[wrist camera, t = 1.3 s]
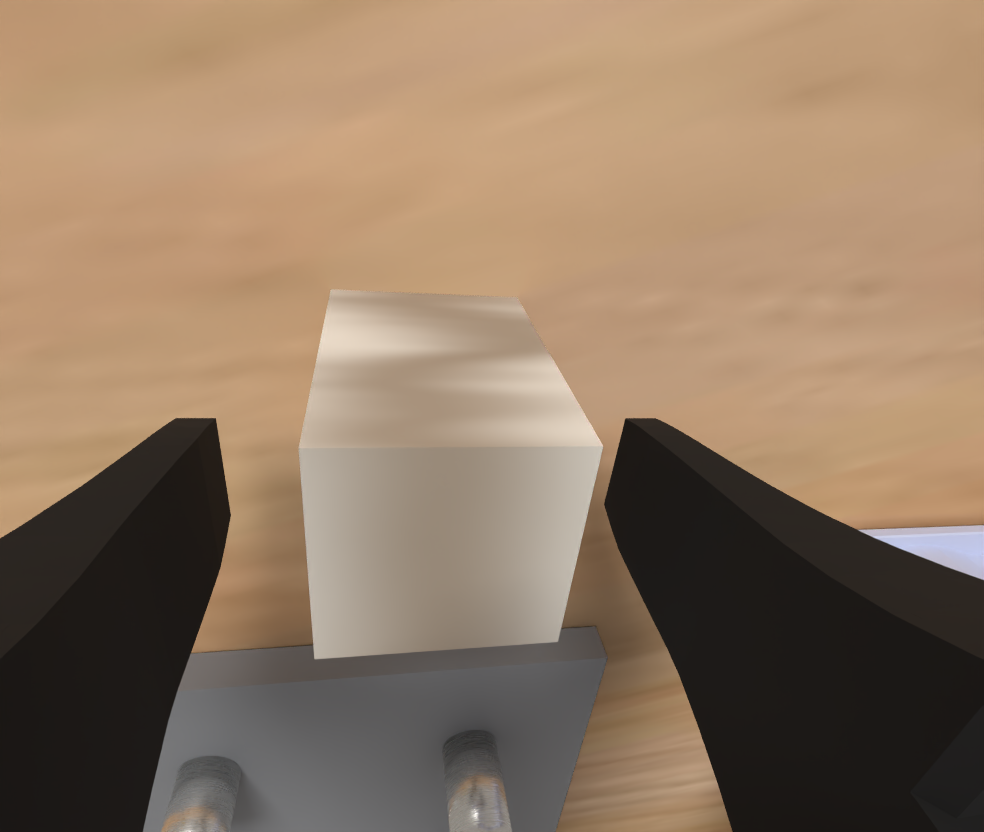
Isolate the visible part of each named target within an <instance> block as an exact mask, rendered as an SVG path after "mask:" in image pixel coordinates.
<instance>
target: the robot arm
mask: <svg viewBox="0 0 984 832" xmlns="http://www.w3.org/2000/svg"><path fill="white" fill-rule="evenodd" d="M604 505H605V508H606V512H607V515H608V518H609V522H610V525H611V528H612V531H613V534H614V537H615V540H616V543H617V546H618V549H619V551H620V553H621V555H622V558H623V560H624V562H625V564H626V566H627V568H628V570H629V572H630V574H631V576H632V578H633V580H634V582H635V585H636V587H637V589H638V591H639V593H640V595H641V597H642V599H643V601H644V603H645V605H646V607H647V609H648V611H649V613H650V615H651V617H652V619H653V621H654V623H655V625H656V627H657V629H658V631H659V633H660V635H661V637H662V639H663V641H664V643H665V645H666V647H667V649H668V651H669V653H670V655H671V658H672V660H673V662H674V664H675V667H676V669H677V671H678V673H679V676H680V678H681V681H682V684H683V687H684V689H685V692H686V695H687V697H688V700H689V703H690V705H691V708H692V711H693V713H694V716H695V719H696V722H697V724H698V727H699V730H700V733H701V736H702V739H703V742H704V744H705V747H706V750H707V753H708V756H709V759H710V762H711V765H712V768H713V771H714V774H715V777H716V780H717V783H718V786H719V789H720V792H721V795H722V799H723V802H724V805H725V808H726V812H727V815H728V818H729V821H730V825H731V828H732V831H733V832H984V525H976V526H949V527H923V528H897V529H870V530H857V529H854V528H852V527H850V526H848V525H846V524H844V523H842V522H839V521H837V520H835V519H833V518H831V517H829V516H827V515H825V514H823V513H821V512H819V511H817V510H815V509H813V508H811V507H809V506H807V505H805V504H803V503H802V502H800V501H798V500H796V499H794V498H792V497H791V496H789V495H787V494H785V493H783V492H781V491H780V490H778V489H776V488H774V487H772V486H771V485H769V484H767V483H766V482H764V481H762V480H760V479H759V478H757V477H755V476H753V475H752V474H750V473H748V472H747V471H745V470H743V469H742V468H740V467H738V466H737V465H735V464H734V463H732V462H730V461H729V460H727V459H725V458H724V457H722V456H720V455H719V454H717V453H716V452H714V451H712V450H711V449H709V448H707V447H706V446H704V445H702V444H701V443H699V442H698V441H696V440H694V439H693V438H691V437H689V436H688V435H686V434H684V433H683V432H681V431H679V430H677V429H676V428H674V427H672V426H670V425H668V424H666V423H664V422H662V421H660V420H658V419H656V418H626V419H625V423H624V427H623V431H622V435H621V439H620V443H619V447H618V451H617V455H616V459H615V463H614V467H613V471H612V475H611V479H610V483H609V487H608V491H607V495H606V499H605V503H604ZM230 517H231V514H230V507H229V501H228V494H227V488H226V481H225V475H224V468H223V462H222V455H221V449H220V442H219V436H218V430H217V423H216V418H176V419H174V420H173V421H171V422H169V423H168V424H166V425H165V426H163V427H162V428H161V429H159V430H158V431H156V432H155V433H154V434H152V435H151V436H150V437H148V438H147V439H146V440H144V441H143V442H142V443H140V444H139V445H138V446H136V447H135V448H133V449H132V450H131V451H129V452H128V453H127V454H125V455H124V456H123V457H121V458H120V459H119V460H117V461H116V462H114V463H113V464H112V465H110V466H109V467H107V468H106V469H105V470H103V471H102V472H101V473H99V474H98V475H96V476H95V477H94V478H92V479H91V480H89V481H88V482H87V483H85V484H84V485H82V486H81V487H79V488H78V489H76V490H75V491H73V492H72V493H70V494H69V495H67V496H66V497H64V498H63V499H61V500H60V501H58V502H57V503H55V504H54V505H52V506H51V507H49V508H47V509H46V510H44V511H43V512H41V513H40V514H38V515H37V516H35V517H34V518H32V519H31V520H29V521H28V522H26V523H25V524H23V525H22V526H20V527H18V528H17V529H15V530H13V531H12V532H10V533H8V534H7V535H5V536H3V537H2V538H0V832H143V829H144V824H145V820H146V815H147V810H148V806H149V801H150V797H151V792H152V788H153V783H154V779H155V775H156V771H157V767H158V762H159V758H160V754H161V750H162V746H163V741H164V737H165V733H166V729H167V725H168V721H169V717H170V714H171V711H172V707H173V704H174V701H175V698H176V694H177V691H178V688H179V685H180V682H181V680H182V677H183V674H184V671H185V668H186V665H187V663H188V660H189V657H190V654H191V651H192V648H193V645H194V643H195V640H196V637H197V634H198V631H199V628H200V626H201V623H202V620H203V617H204V614H205V611H206V608H207V606H208V603H209V600H210V597H211V594H212V591H213V588H214V585H215V582H216V579H217V576H218V573H219V570H220V567H221V562H222V558H223V553H224V548H225V543H226V538H227V533H228V527H229V522H230Z"/></svg>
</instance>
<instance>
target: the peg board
mask: <svg viewBox="0 0 984 832" xmlns="http://www.w3.org/2000/svg"><path fill="white" fill-rule="evenodd" d="M607 658H608V657H607V654H606V652H605V649H604V647H603V644H602V641H601V639H600V636H599V634H598V631H597V628H596V626H594V627H579V628H564V629H561V631H560V635H559V639H558V642H550V643H536V644H522V645H508V646H494V647H480V648H466V649H452V650H438V651H424V652H410V653H396V654H382V655H368V656H354V657H340V658H326V659H314V647H313V645H311V646H296V647H281V648H266V649H251V650H236V651H221V652H207V653H192V654H190V657H189V660H188V663H187V665H186V668H185V671H184V674H183V677H182V680H181V682H180V685H179V688H178V691H177V694H176V698H175V701H174V704H173V707H172V711H171V714H170V717H169V721H168V725H167V729H166V733H165V737H164V741H163V746H162V750H161V754H160V758H159V762H158V767H157V771H156V775H155V779H154V783H153V788H152V792H151V797H150V801H149V806H148V810H147V815H146V820H145V824H144V829H143V832H556V828H557V825H558V822H559V818H560V815H561V812H562V808H563V805H564V802H565V798H566V795H567V792H568V788H569V785H570V782H571V778H572V775H573V772H574V768H575V765H576V762H577V758H578V755H579V752H580V748H581V745H582V742H583V738H584V735H585V732H586V728H587V725H588V722H589V718H590V715H591V712H592V708H593V705H594V702H595V698H596V695H597V692H598V688H599V685H600V682H601V678H602V675H603V672H604V668H605V665H606V662H607Z"/></svg>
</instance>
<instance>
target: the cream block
mask: <svg viewBox="0 0 984 832" xmlns="http://www.w3.org/2000/svg"><path fill="white" fill-rule="evenodd" d="M602 450H603V445H602V443H601V441H600V440H599V438H598V436H597V435H596V433H595V431H594V429H593V428H592V426H591V424H590V422H589V421H588V419H587V417H586V416H585V414H584V412H583V410H582V409H581V407H580V405H579V403H578V402H577V400H576V398H575V397H574V395H573V393H572V391H571V390H570V388H569V386H568V384H567V383H566V381H565V379H564V378H563V376H562V374H561V372H560V371H559V369H558V367H557V366H556V364H555V362H554V360H553V359H552V357H551V355H550V353H549V352H548V350H547V348H546V347H545V345H544V343H543V341H542V340H541V338H540V336H539V334H538V333H537V331H536V329H535V328H534V326H533V324H532V322H531V321H530V319H529V317H528V315H527V314H526V312H525V310H524V309H523V307H522V305H521V303H520V302H519V300H518V298H517V297H498V296H474V295H451V294H428V293H404V292H381V291H357V290H334V289H331V291H330V296H329V301H328V306H327V311H326V316H325V321H324V326H323V331H322V336H321V340H320V345H319V350H318V355H317V360H316V365H315V370H314V375H313V380H312V385H311V390H310V395H309V400H308V405H307V410H306V415H305V419H304V424H303V429H302V434H301V439H300V444H299V459H300V472H301V486H302V499H303V513H304V526H305V539H306V553H307V566H308V580H309V593H310V606H311V620H312V633H313V647H314V659H326V658H340V657H354V656H368V655H382V654H396V653H410V652H424V651H438V650H452V649H466V648H480V647H494V646H508V645H522V644H536V643H550V642H558V639H559V635H560V631H561V626H562V622H563V618H564V613H565V609H566V605H567V600H568V596H569V592H570V587H571V583H572V579H573V575H574V570H575V566H576V562H577V557H578V553H579V549H580V544H581V540H582V536H583V531H584V527H585V523H586V518H587V514H588V510H589V506H590V501H591V497H592V493H593V488H594V484H595V480H596V475H597V471H598V467H599V462H600V458H601V454H602Z"/></svg>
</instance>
